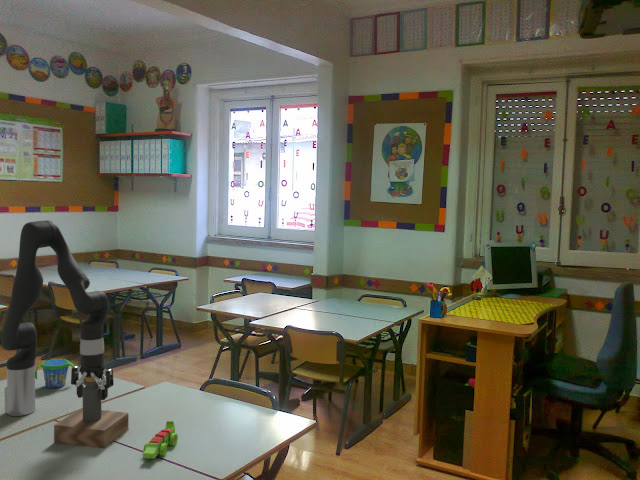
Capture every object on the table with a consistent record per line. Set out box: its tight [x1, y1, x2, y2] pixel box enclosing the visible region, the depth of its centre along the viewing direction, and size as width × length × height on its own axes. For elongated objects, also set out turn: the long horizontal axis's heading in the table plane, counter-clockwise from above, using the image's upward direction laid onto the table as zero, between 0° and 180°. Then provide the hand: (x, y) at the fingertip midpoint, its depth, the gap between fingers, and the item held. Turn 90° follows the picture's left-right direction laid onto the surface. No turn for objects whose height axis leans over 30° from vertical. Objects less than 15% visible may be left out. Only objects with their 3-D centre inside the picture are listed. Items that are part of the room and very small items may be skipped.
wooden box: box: [53, 407, 129, 449], centre depth 186 cm, size 18×15×6 cm
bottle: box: [82, 376, 102, 422], centre depth 185 cm, size 6×6×15 cm
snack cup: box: [35, 358, 76, 389], centre depth 233 cm, size 16×10×10 cm
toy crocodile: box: [142, 420, 179, 460], centre depth 178 cm, size 20×7×6 cm, turn 170°
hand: (92, 398), depth 185 cm, fingers open, 8 cm apart
